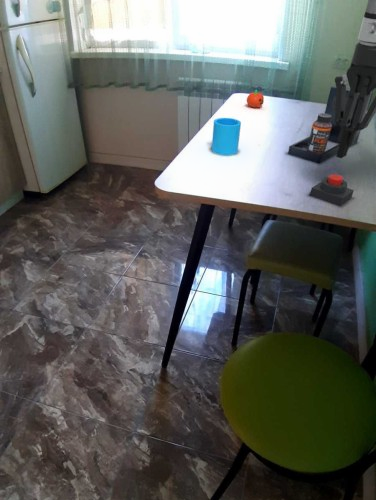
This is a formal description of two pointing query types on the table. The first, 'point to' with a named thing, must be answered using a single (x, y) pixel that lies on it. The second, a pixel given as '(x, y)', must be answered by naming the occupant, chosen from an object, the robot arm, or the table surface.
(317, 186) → the control block
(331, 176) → the button
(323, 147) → the supplement bottle
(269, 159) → the table surface
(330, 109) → the dark l-shaped stand
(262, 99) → the pumpkin
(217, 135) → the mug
